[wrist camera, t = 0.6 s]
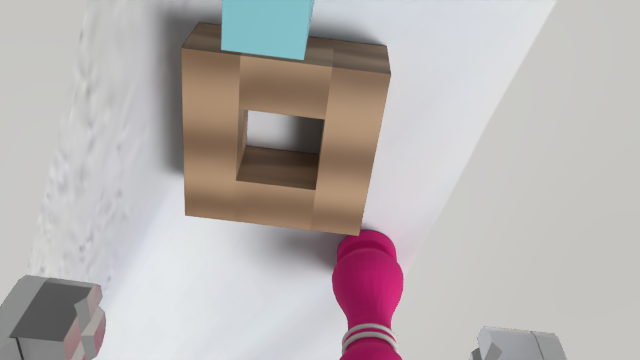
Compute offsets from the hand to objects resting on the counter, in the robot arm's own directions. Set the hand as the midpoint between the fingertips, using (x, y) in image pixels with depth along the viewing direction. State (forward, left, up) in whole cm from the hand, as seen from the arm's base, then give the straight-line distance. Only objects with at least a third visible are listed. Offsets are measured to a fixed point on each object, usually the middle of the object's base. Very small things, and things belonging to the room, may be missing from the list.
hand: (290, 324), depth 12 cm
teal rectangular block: (+1, -3, -38) cm, 38 cm away
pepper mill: (+30, +8, -38) cm, 49 cm away
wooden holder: (+15, -2, -38) cm, 41 cm away
